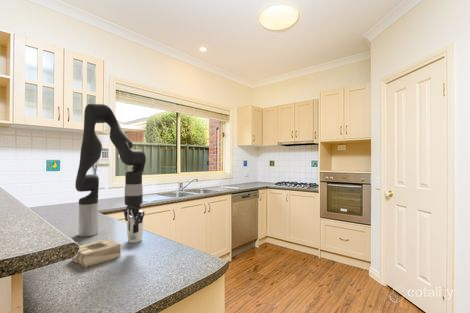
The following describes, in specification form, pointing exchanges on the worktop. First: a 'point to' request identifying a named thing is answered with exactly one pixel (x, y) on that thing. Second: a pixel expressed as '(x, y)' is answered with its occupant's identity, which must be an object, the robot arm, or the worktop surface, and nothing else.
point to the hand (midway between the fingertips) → (133, 231)
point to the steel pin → (132, 235)
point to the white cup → (139, 233)
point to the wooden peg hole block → (97, 252)
